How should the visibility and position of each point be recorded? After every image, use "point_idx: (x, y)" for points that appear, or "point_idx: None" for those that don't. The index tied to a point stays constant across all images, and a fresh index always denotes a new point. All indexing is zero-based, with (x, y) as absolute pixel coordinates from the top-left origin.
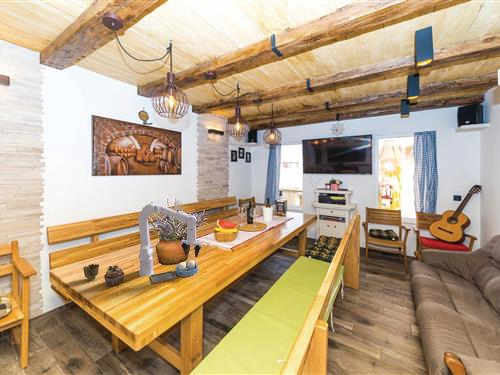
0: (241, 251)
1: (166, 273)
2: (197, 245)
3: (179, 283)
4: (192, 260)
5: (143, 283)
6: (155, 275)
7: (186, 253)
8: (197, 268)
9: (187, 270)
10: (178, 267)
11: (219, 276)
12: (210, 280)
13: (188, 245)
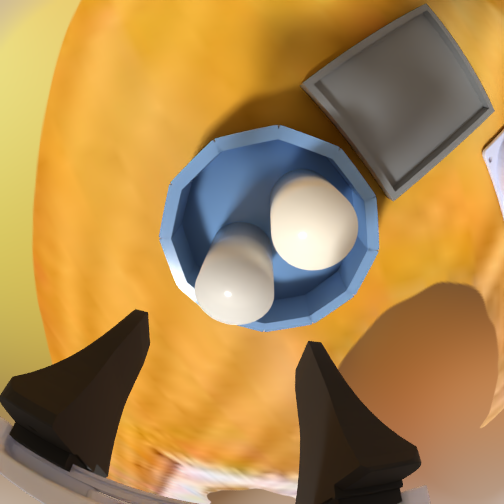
0: (123, 444)
1: (419, 163)
2: (40, 454)
3: (239, 32)
4: (236, 322)
5: (474, 35)
6: (470, 121)
7: (305, 368)
8: (165, 246)
9: (269, 238)
10: (359, 246)
11: (37, 220)
12: (52, 153)
13: (299, 482)
